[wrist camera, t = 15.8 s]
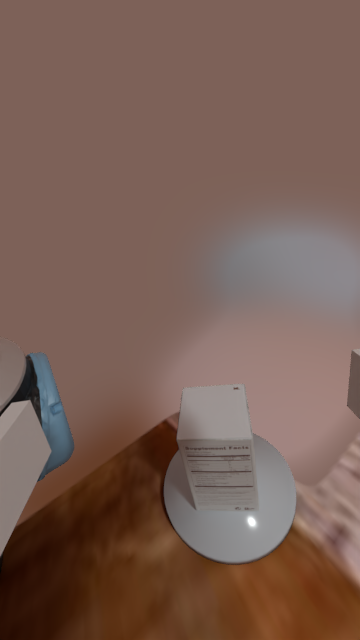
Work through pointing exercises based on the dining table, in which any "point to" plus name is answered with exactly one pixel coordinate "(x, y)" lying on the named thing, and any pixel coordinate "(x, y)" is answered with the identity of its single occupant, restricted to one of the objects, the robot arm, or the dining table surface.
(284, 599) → the dining table surface
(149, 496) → the dining table surface
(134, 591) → the dining table surface
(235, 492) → the supplement box
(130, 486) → the dining table surface
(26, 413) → the robot arm
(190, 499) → the plate
